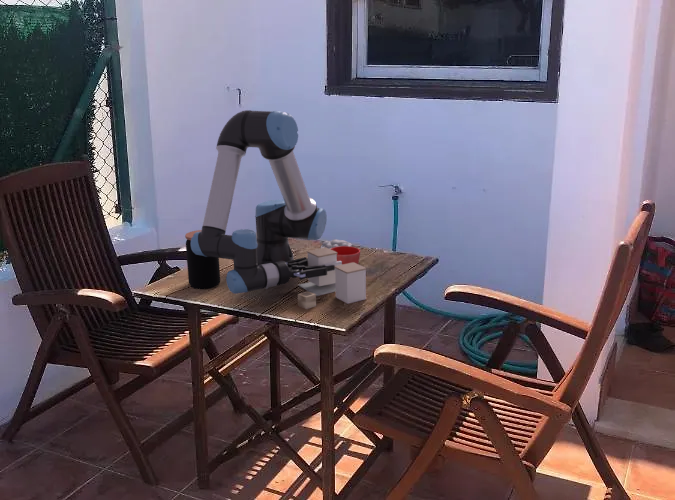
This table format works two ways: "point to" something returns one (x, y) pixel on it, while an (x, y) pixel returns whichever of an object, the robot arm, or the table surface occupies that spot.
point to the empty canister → (350, 282)
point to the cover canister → (319, 259)
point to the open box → (307, 300)
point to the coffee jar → (201, 267)
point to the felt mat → (318, 288)
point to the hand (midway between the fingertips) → (334, 262)
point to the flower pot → (347, 254)
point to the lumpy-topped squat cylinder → (335, 244)
